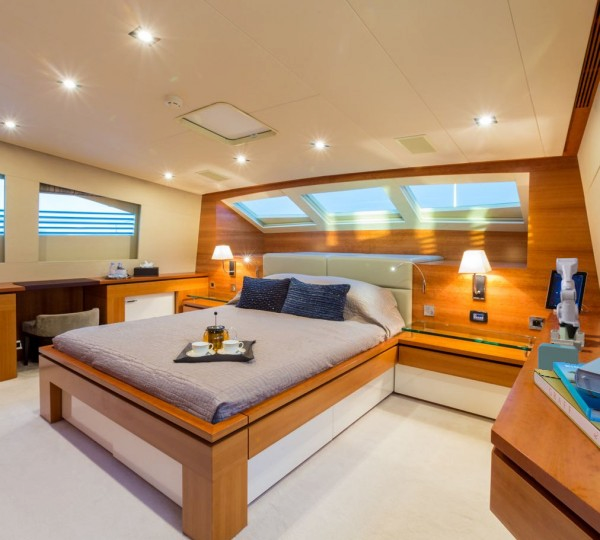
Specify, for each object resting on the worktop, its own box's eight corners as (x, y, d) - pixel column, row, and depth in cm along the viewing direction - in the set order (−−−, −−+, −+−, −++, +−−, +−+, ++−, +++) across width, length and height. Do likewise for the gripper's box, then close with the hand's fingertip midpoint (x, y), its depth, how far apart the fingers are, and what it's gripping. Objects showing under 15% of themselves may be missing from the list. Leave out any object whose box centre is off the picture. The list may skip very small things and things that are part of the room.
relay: (573, 348, 173) (573, 340, 172) (581, 349, 171) (581, 340, 170) (573, 351, 169) (573, 342, 169) (581, 352, 167) (581, 343, 167)
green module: (560, 339, 193) (560, 326, 192) (571, 339, 192) (571, 326, 191) (565, 341, 188) (565, 328, 188) (576, 341, 187) (576, 328, 187)
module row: (552, 339, 191) (552, 328, 191) (584, 343, 183) (584, 331, 183) (550, 343, 184) (550, 331, 184) (583, 347, 175) (583, 334, 175)
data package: (578, 379, 131) (578, 346, 131) (577, 382, 128) (577, 349, 127) (539, 372, 139) (539, 342, 139) (537, 375, 136) (537, 344, 135)
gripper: (552, 310, 197) (552, 334, 198) (567, 314, 183) (567, 340, 183) (566, 310, 196) (566, 334, 196) (583, 314, 182) (583, 340, 182)
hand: (568, 337), depth 190 cm, fingers closed on green module, 4 cm apart
